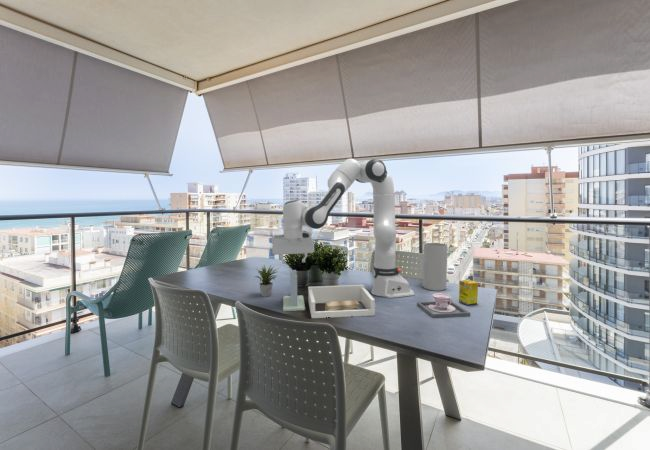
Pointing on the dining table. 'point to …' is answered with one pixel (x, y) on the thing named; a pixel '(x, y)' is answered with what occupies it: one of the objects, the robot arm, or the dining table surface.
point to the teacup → (442, 303)
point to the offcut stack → (341, 305)
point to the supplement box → (468, 292)
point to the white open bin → (340, 294)
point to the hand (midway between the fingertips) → (293, 262)
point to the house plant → (266, 281)
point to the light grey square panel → (293, 287)
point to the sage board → (288, 306)
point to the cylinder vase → (435, 266)
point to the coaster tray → (441, 315)
